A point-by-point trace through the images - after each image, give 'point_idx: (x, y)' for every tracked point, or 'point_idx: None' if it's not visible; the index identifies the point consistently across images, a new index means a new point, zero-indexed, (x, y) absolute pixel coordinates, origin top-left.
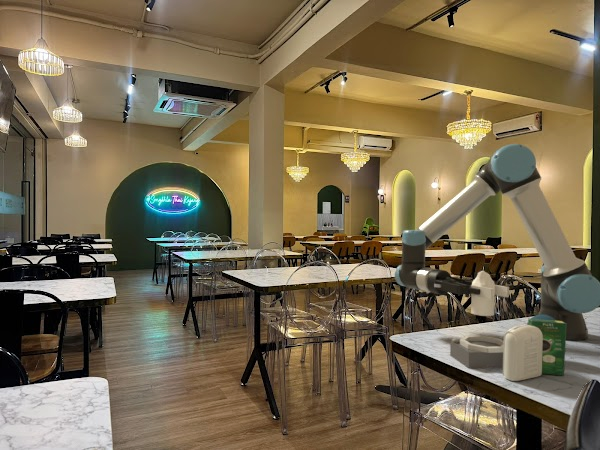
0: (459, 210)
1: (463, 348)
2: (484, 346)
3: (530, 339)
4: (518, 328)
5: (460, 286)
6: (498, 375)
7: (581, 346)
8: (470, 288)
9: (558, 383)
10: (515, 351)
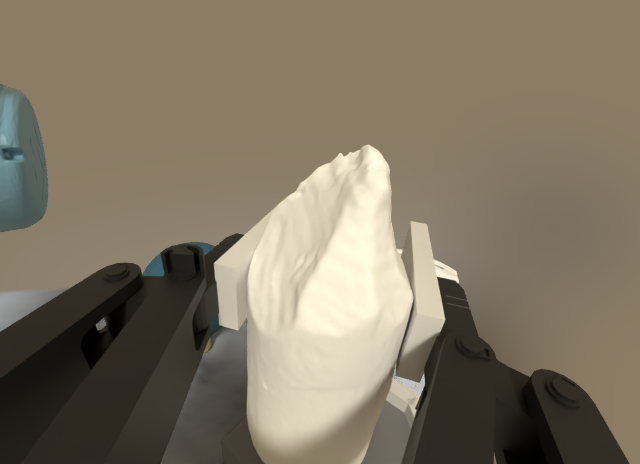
0: None
1: None
2: (414, 410)
3: None
4: (435, 260)
5: (575, 390)
6: (419, 390)
7: (13, 309)
8: (474, 324)
9: None
10: None
